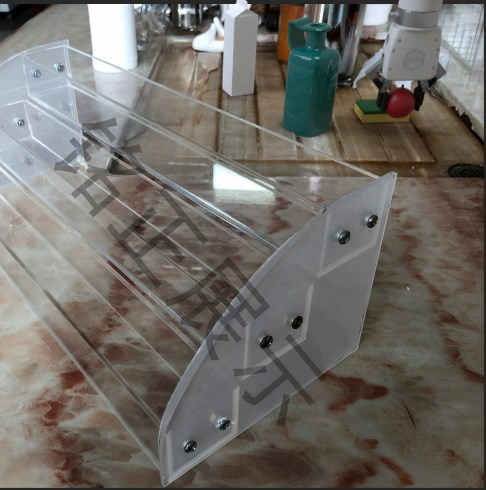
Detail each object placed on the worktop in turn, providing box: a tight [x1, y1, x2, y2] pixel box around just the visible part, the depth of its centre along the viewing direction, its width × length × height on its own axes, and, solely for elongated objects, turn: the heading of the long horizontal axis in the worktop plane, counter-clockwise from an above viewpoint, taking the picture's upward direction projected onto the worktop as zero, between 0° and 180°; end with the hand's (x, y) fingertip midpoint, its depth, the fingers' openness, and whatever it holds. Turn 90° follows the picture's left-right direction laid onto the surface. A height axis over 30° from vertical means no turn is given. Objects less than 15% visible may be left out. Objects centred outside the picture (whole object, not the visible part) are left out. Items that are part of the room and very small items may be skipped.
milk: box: [221, 0, 259, 97], centre depth 142 cm, size 6×6×22 cm
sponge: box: [354, 98, 411, 124], centre depth 131 cm, size 10×7×3 cm
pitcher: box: [281, 16, 341, 138], centre depth 122 cm, size 10×8×22 cm
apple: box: [385, 83, 416, 118], centre depth 121 cm, size 6×6×7 cm
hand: (398, 108), depth 122 cm, fingers closed on apple, 6 cm apart
